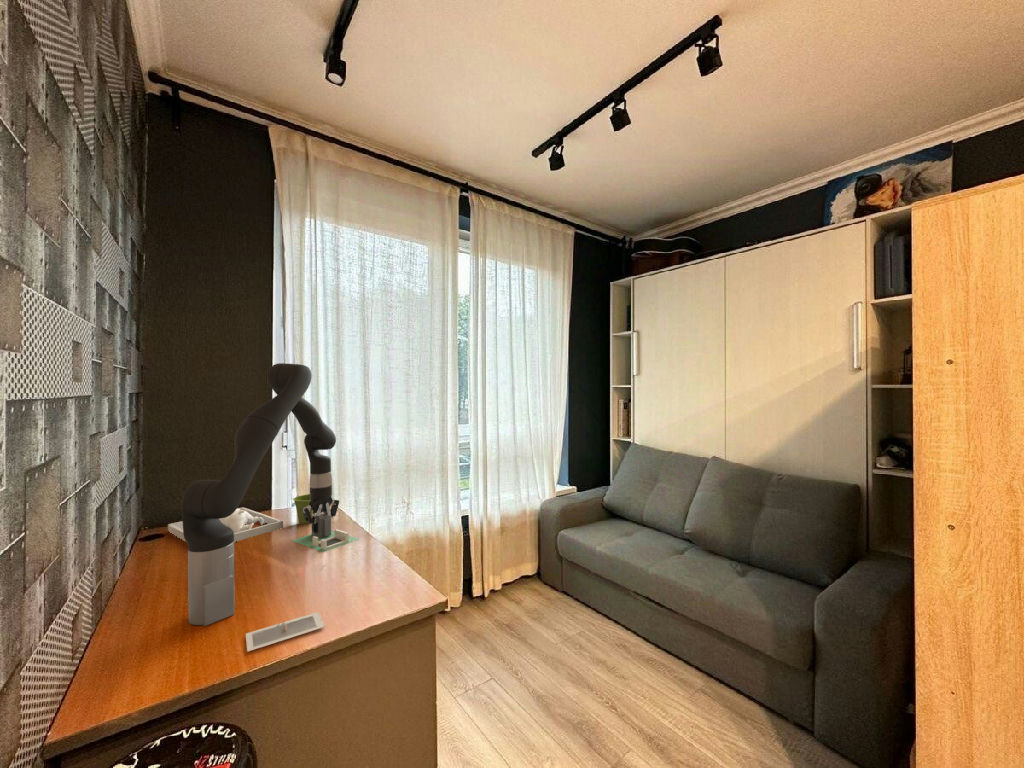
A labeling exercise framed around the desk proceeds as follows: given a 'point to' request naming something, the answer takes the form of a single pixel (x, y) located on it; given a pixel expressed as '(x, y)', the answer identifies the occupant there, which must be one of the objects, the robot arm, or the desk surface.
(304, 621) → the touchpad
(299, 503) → the plant pot
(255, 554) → the desk surface
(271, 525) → the light grey flat tray
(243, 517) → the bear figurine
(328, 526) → the plug
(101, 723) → the desk surface
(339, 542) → the board
